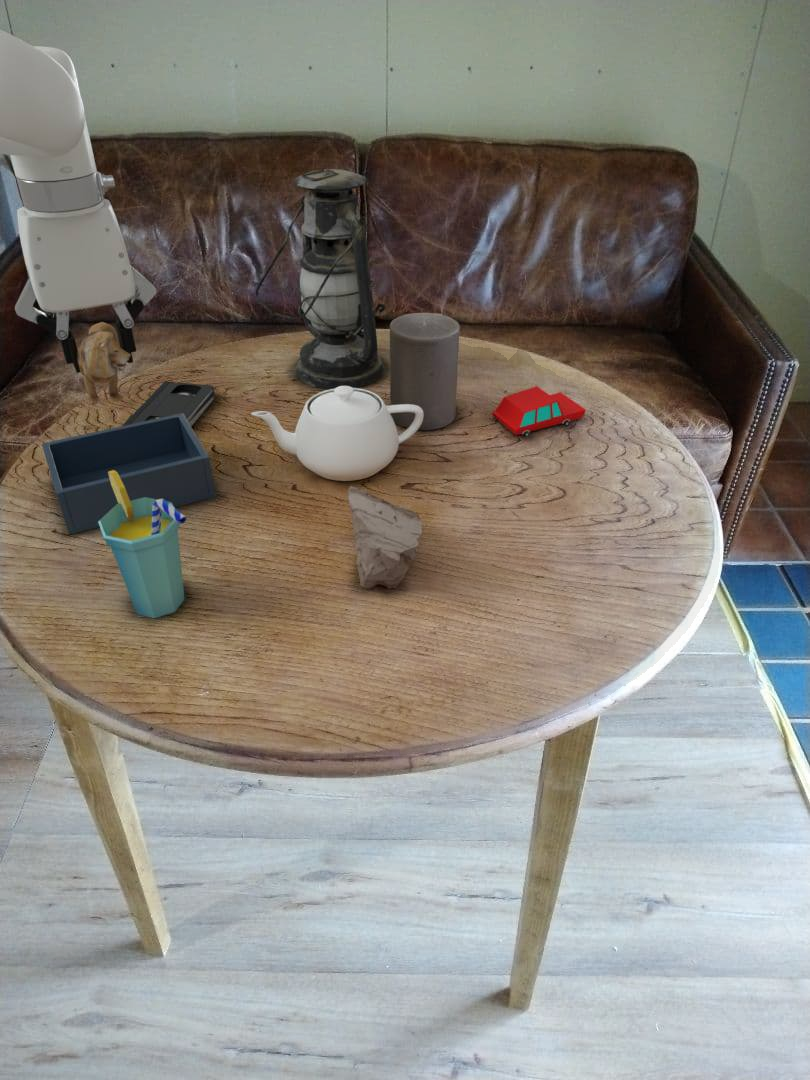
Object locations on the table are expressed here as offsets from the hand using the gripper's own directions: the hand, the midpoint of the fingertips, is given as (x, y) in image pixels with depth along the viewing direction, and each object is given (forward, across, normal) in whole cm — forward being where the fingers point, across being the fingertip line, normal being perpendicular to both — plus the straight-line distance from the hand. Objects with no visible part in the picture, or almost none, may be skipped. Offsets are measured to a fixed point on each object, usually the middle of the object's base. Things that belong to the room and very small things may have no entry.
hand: (102, 361), depth 90 cm
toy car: (+17, -56, +8) cm, 59 cm away
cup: (+18, +2, +24) cm, 29 cm away
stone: (+17, -22, +27) cm, 39 cm away
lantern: (+17, -35, -20) cm, 44 cm away
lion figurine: (+4, 0, 0) cm, 4 cm away
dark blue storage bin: (+17, 0, 0) cm, 17 cm away
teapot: (+17, -26, +6) cm, 32 cm away
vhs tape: (+17, -9, -17) cm, 26 cm away
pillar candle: (+17, -42, -1) cm, 46 cm away
